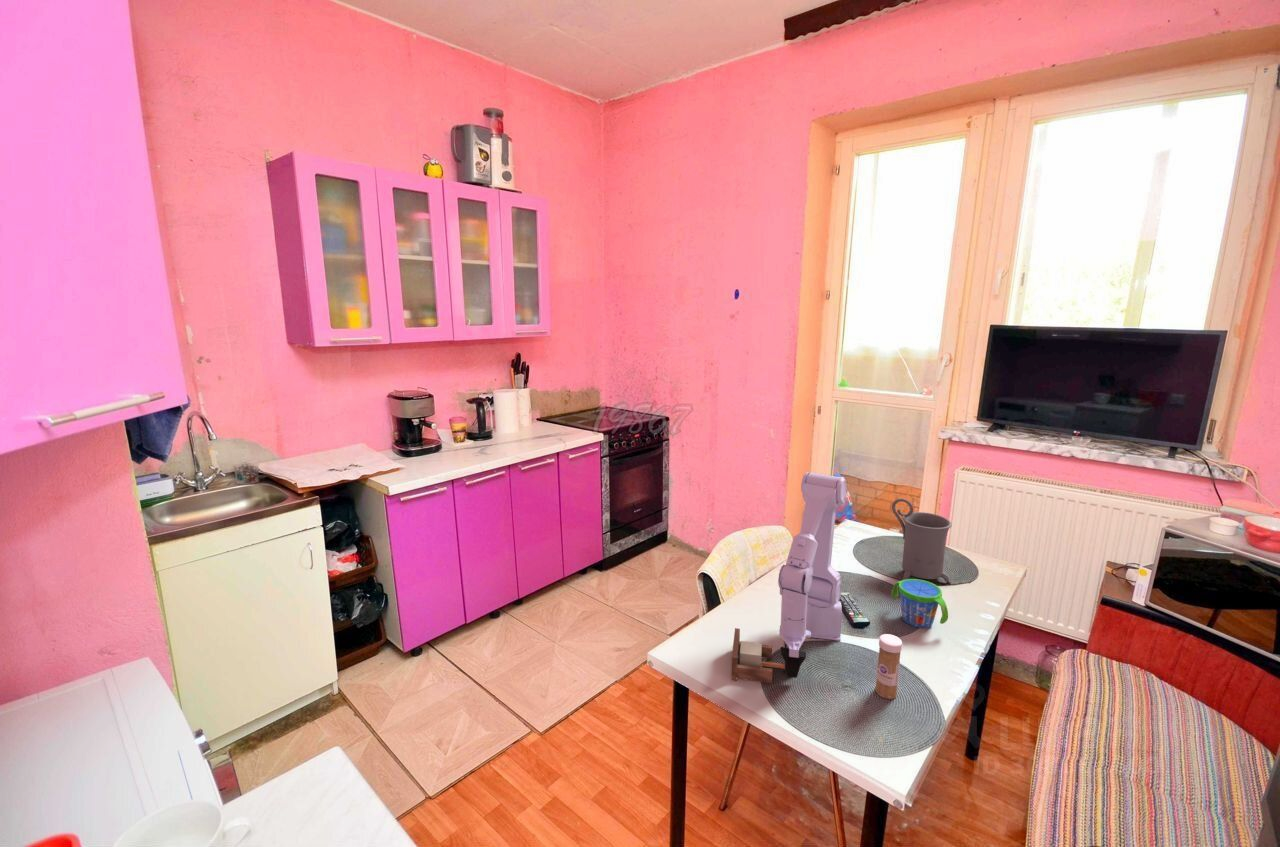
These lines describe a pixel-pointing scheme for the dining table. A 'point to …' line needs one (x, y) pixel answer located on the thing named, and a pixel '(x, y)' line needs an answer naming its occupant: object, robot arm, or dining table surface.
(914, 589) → the snack cup
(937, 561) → the mug
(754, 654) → the multicoloured piece
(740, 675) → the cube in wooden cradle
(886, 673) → the sprinkles bottle
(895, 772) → the dining table surface
